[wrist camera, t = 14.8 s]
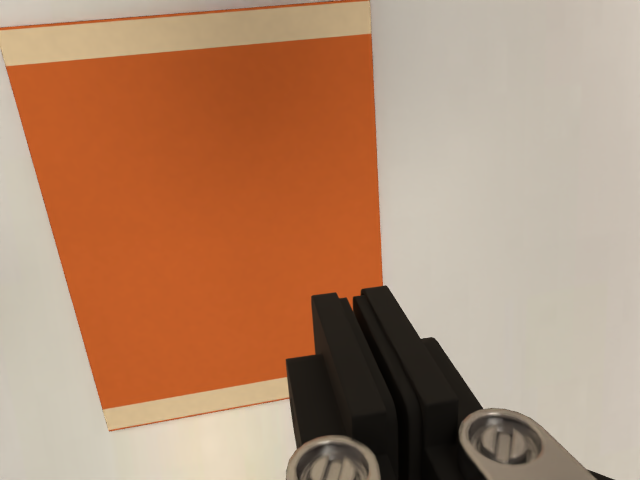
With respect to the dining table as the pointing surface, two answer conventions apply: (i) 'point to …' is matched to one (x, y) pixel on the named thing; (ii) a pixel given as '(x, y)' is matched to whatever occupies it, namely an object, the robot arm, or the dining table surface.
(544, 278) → the dining table surface
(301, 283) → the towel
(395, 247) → the dining table surface
